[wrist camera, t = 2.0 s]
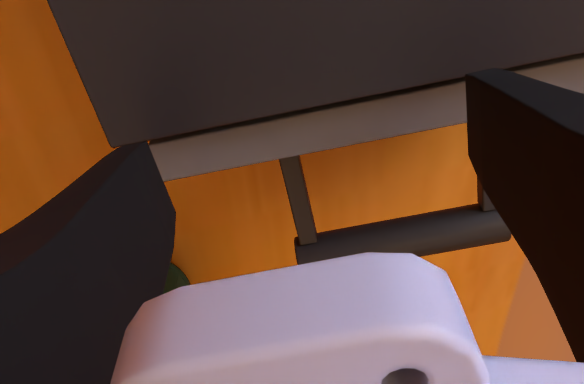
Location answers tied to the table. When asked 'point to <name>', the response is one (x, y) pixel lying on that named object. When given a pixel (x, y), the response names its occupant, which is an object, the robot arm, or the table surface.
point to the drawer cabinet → (289, 53)
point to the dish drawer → (348, 131)
